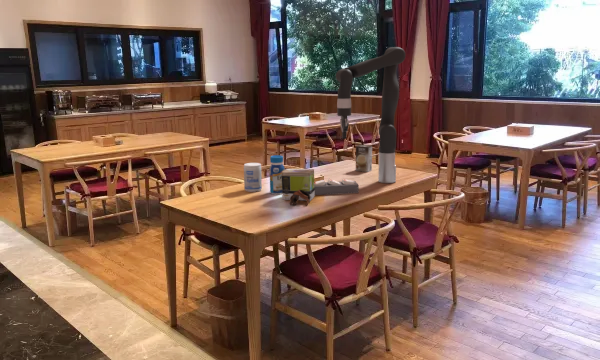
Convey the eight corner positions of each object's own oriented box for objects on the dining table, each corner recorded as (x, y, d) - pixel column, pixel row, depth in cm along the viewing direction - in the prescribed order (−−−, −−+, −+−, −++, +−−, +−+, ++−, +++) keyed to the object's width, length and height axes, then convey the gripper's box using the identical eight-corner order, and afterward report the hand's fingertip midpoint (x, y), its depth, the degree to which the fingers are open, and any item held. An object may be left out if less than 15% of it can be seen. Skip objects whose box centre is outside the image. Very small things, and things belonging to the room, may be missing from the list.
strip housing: (354, 188, 275) (354, 180, 274) (358, 193, 266) (358, 184, 265) (309, 191, 273) (309, 182, 272) (311, 195, 264) (311, 186, 263)
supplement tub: (246, 193, 271) (245, 166, 268) (242, 189, 280) (241, 163, 276) (264, 191, 274) (263, 164, 271) (259, 187, 283) (258, 161, 279)
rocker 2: (337, 185, 271) (339, 182, 271) (339, 187, 267) (340, 184, 267) (327, 181, 270) (329, 178, 270) (329, 183, 266) (330, 180, 265)
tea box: (315, 196, 261) (314, 168, 258) (310, 201, 252) (309, 172, 249) (287, 195, 265) (286, 167, 262) (281, 200, 256) (280, 171, 253)
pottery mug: (294, 201, 254) (302, 188, 253) (307, 212, 250) (315, 198, 248) (281, 201, 244) (290, 187, 242) (295, 212, 240) (304, 198, 238)
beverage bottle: (275, 190, 276) (274, 154, 271) (288, 191, 272) (287, 155, 267) (266, 193, 269) (265, 157, 264) (280, 195, 265) (278, 158, 260)
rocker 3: (352, 183, 272) (353, 180, 271) (354, 185, 268) (354, 182, 267) (341, 182, 271) (342, 178, 271) (343, 183, 267) (344, 180, 266)
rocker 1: (324, 182, 270) (323, 179, 270) (325, 184, 266) (324, 181, 265) (313, 185, 270) (312, 182, 269) (314, 187, 265) (313, 184, 265)
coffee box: (354, 170, 320) (355, 146, 317) (359, 169, 326) (359, 144, 322) (368, 172, 316) (368, 147, 312) (372, 170, 321) (372, 145, 317)
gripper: (353, 107, 266) (353, 140, 270) (348, 105, 278) (348, 136, 282) (339, 108, 265) (339, 140, 269) (335, 106, 278) (335, 137, 282)
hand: (344, 138), depth 276 cm, fingers closed
